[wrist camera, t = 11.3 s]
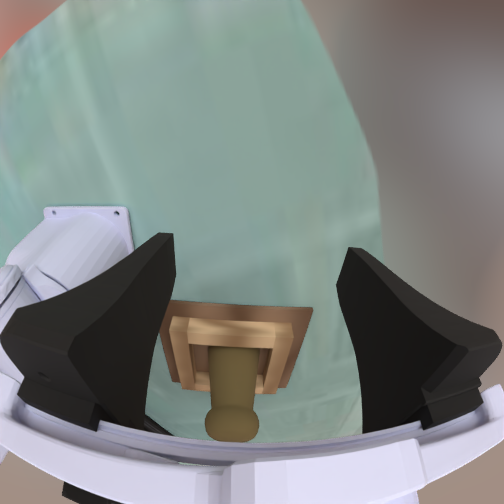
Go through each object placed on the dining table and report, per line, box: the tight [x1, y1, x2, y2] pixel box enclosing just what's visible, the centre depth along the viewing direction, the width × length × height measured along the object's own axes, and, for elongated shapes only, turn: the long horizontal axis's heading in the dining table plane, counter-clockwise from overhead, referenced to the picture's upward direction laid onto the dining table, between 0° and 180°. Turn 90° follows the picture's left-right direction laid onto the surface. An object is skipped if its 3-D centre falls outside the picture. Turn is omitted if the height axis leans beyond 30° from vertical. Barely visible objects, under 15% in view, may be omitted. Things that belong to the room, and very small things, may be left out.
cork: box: [205, 345, 260, 443], centre depth 26 cm, size 6×6×11 cm
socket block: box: [159, 300, 313, 394], centre depth 30 cm, size 16×16×2 cm
